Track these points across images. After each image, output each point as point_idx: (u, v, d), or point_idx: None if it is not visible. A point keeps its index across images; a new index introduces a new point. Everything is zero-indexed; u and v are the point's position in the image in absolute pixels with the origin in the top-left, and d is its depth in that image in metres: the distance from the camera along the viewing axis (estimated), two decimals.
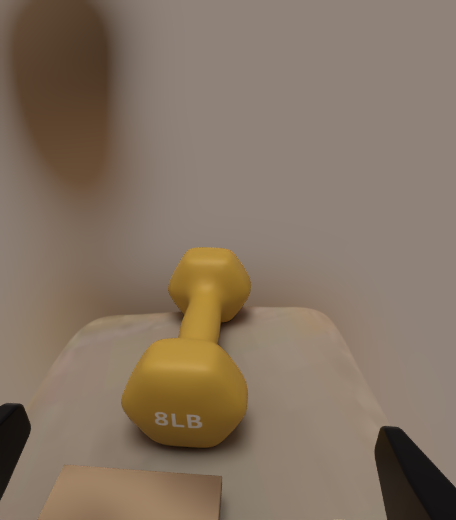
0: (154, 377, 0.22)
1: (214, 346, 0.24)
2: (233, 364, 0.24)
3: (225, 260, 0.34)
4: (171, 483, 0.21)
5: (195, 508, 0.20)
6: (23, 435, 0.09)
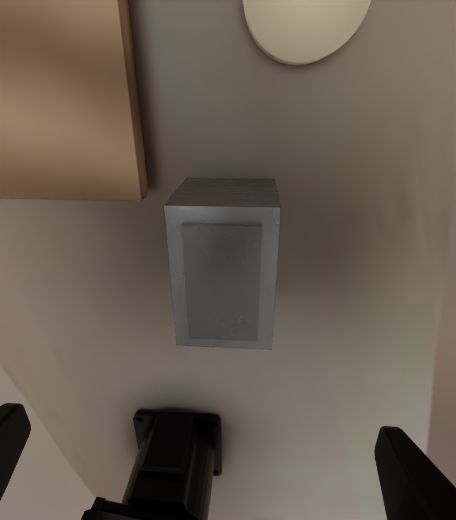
0: None
1: None
2: None
3: None
4: None
5: None
6: (23, 435, 0.09)
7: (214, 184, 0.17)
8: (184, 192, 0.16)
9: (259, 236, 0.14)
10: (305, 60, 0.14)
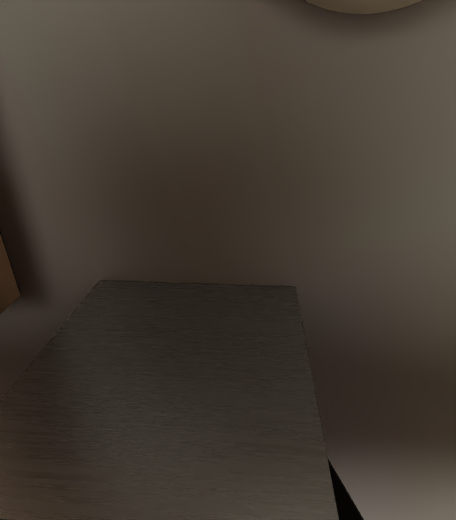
0: None
1: None
2: None
3: None
4: None
5: None
6: None
7: (149, 317, 0.07)
8: (50, 372, 0.06)
9: None
10: None
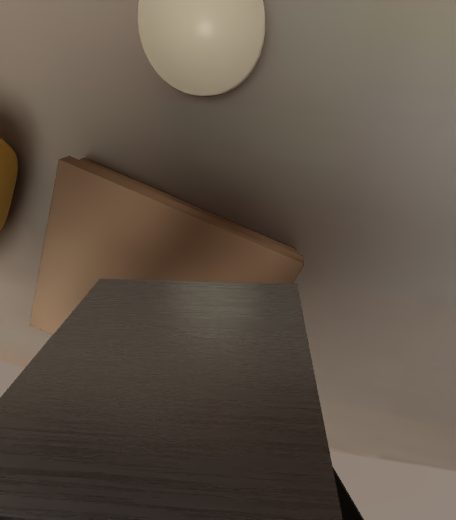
0: None
1: None
2: None
3: None
4: (61, 223, 0.17)
5: (93, 203, 0.16)
6: None
7: (150, 315, 0.07)
8: (50, 370, 0.06)
9: None
10: (259, 48, 0.13)
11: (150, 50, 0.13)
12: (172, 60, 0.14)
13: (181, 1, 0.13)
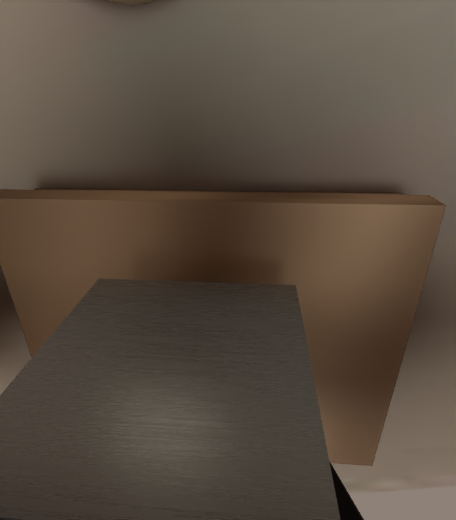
0: None
1: None
2: None
3: None
4: (30, 294, 0.11)
5: (57, 245, 0.10)
6: None
7: (148, 315, 0.07)
8: (48, 370, 0.05)
9: None
10: None
11: None
12: None
13: None
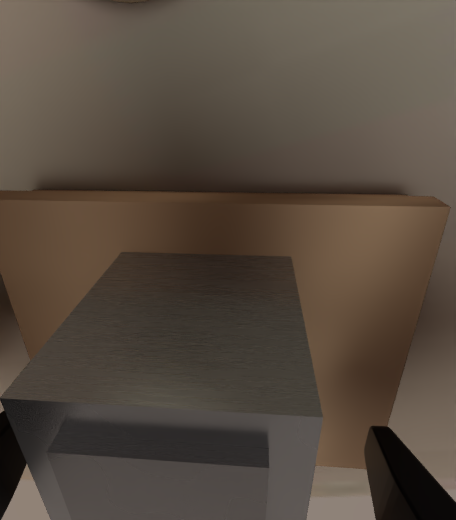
0: None
1: None
2: None
3: None
4: (28, 296, 0.10)
5: (55, 247, 0.10)
6: None
7: (167, 278, 0.08)
8: (90, 315, 0.07)
9: (262, 485, 0.05)
10: None
11: None
12: None
13: None
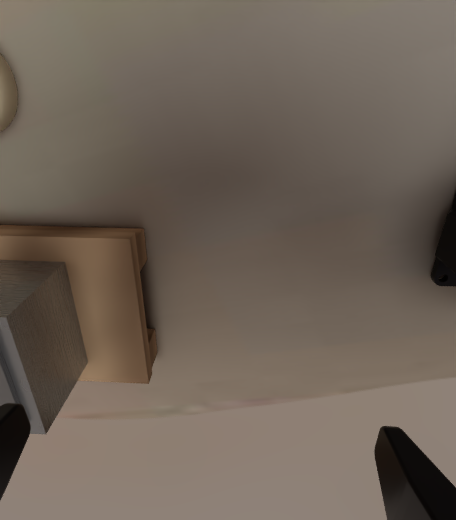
0: None
1: None
2: None
3: None
4: None
5: None
6: (23, 435, 0.09)
7: None
8: None
9: None
10: None
11: None
12: None
13: None
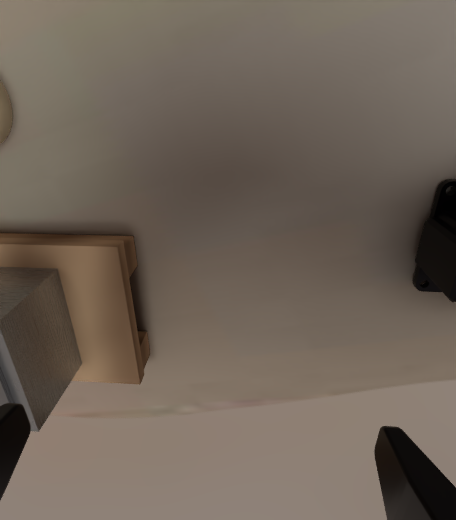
0: None
1: None
2: None
3: None
4: None
5: None
6: (23, 435, 0.09)
7: None
8: None
9: None
10: None
11: None
12: None
13: None
